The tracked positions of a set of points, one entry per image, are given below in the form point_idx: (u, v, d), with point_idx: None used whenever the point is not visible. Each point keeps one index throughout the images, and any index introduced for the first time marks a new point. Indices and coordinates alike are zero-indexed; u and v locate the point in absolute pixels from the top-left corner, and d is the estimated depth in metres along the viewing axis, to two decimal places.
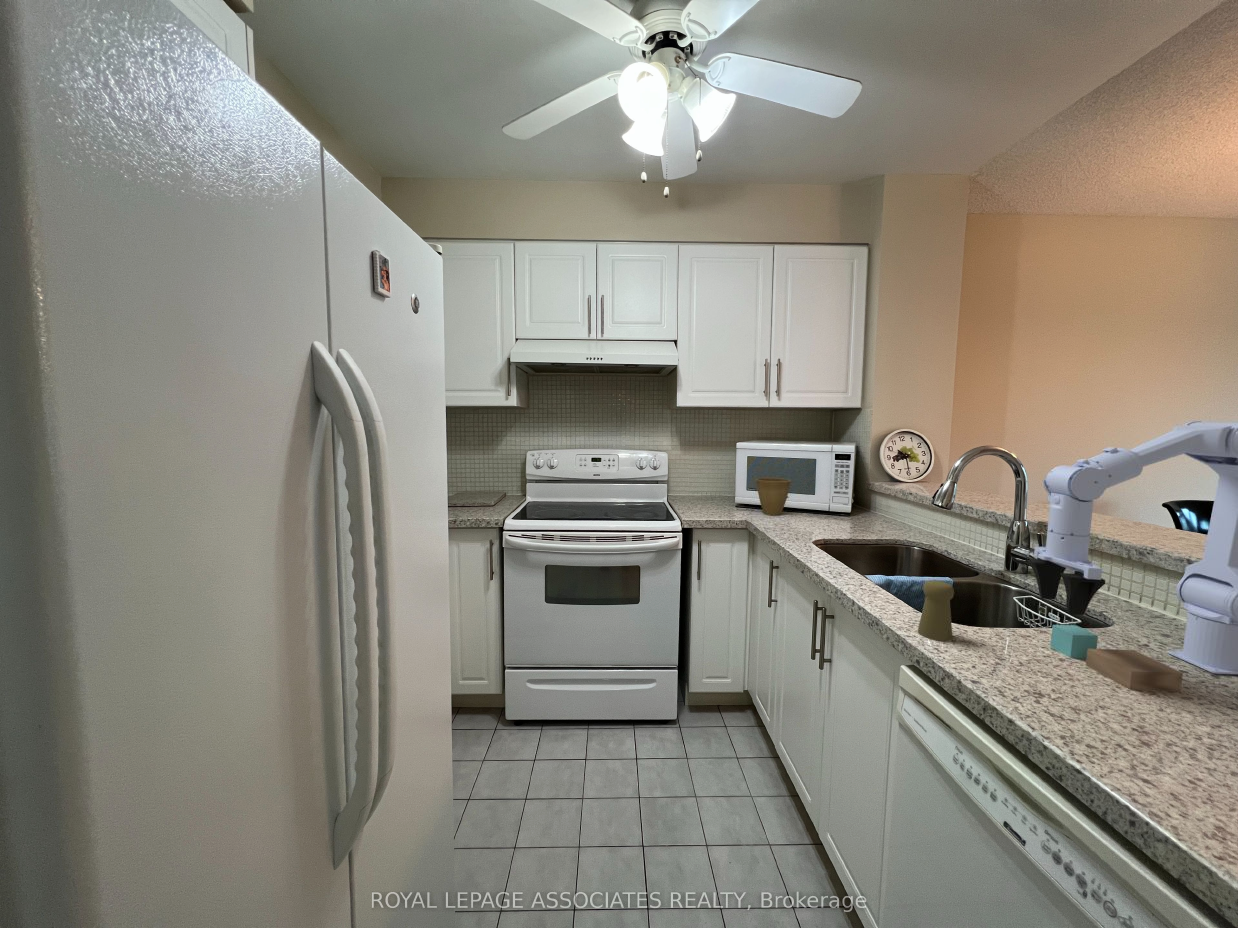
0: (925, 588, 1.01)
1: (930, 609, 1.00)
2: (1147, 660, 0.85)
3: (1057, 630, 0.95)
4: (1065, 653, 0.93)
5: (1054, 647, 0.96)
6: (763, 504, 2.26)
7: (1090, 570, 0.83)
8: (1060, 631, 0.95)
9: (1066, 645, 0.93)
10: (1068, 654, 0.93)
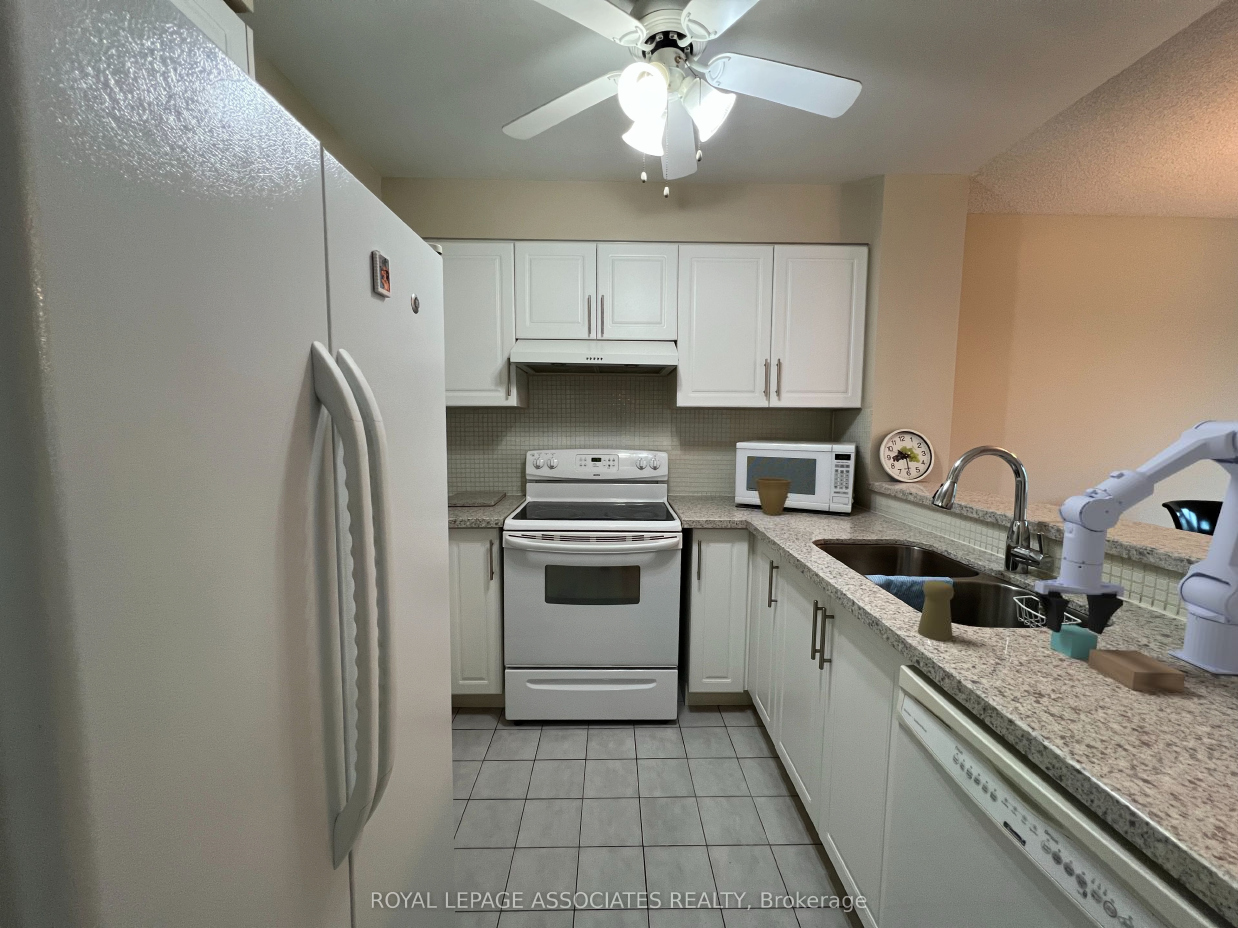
0: (925, 588, 1.01)
1: (930, 609, 1.00)
2: (1150, 660, 0.85)
3: None
4: (1065, 653, 0.93)
5: (1054, 647, 0.96)
6: (763, 504, 2.26)
7: (1036, 583, 0.94)
8: (1060, 631, 0.95)
9: (1066, 645, 0.93)
10: (1068, 654, 0.93)
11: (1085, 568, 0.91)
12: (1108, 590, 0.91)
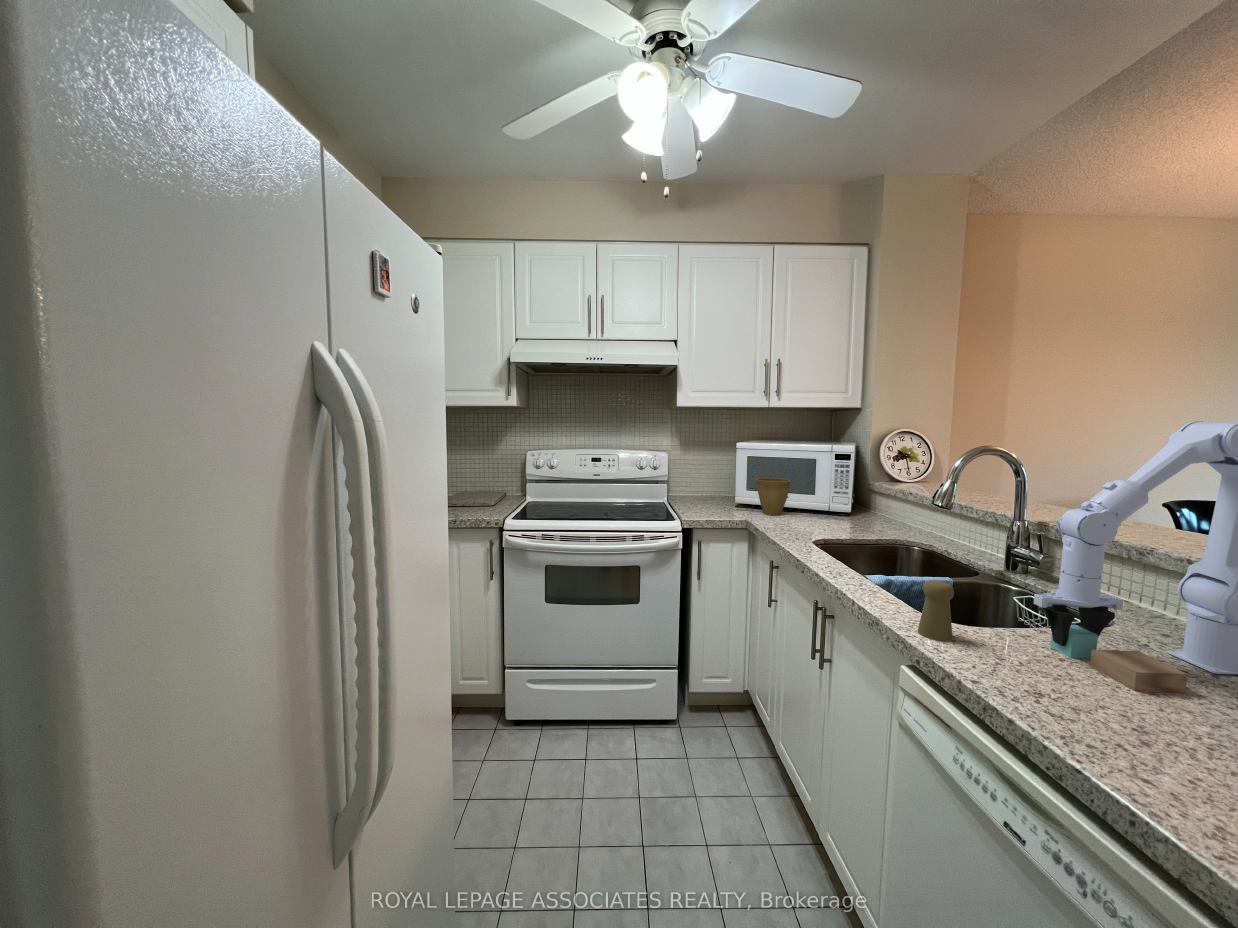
0: (925, 588, 1.01)
1: (930, 609, 1.00)
2: (1152, 660, 0.85)
3: None
4: (1065, 652, 0.93)
5: (1054, 646, 0.96)
6: (763, 504, 2.26)
7: (1035, 596, 0.94)
8: None
9: (1066, 644, 0.93)
10: (1068, 654, 0.93)
11: (1084, 582, 0.91)
12: (1107, 603, 0.91)
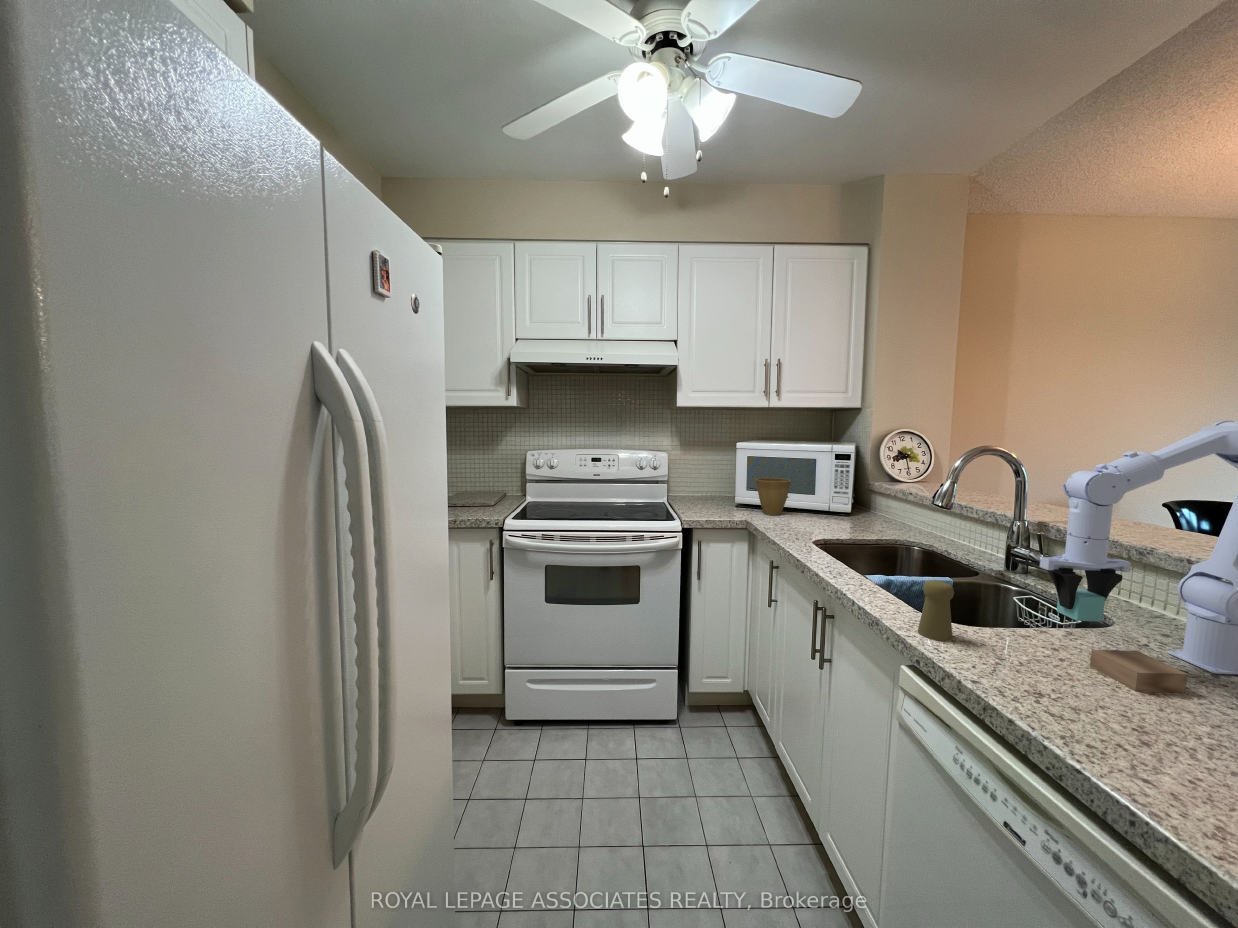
0: (925, 588, 1.01)
1: (930, 609, 1.00)
2: (1151, 660, 0.85)
3: None
4: (1072, 616, 0.92)
5: (1060, 611, 0.95)
6: (763, 504, 2.26)
7: (1041, 559, 0.93)
8: None
9: None
10: (1075, 617, 0.92)
11: (1091, 543, 0.90)
12: (1114, 565, 0.90)
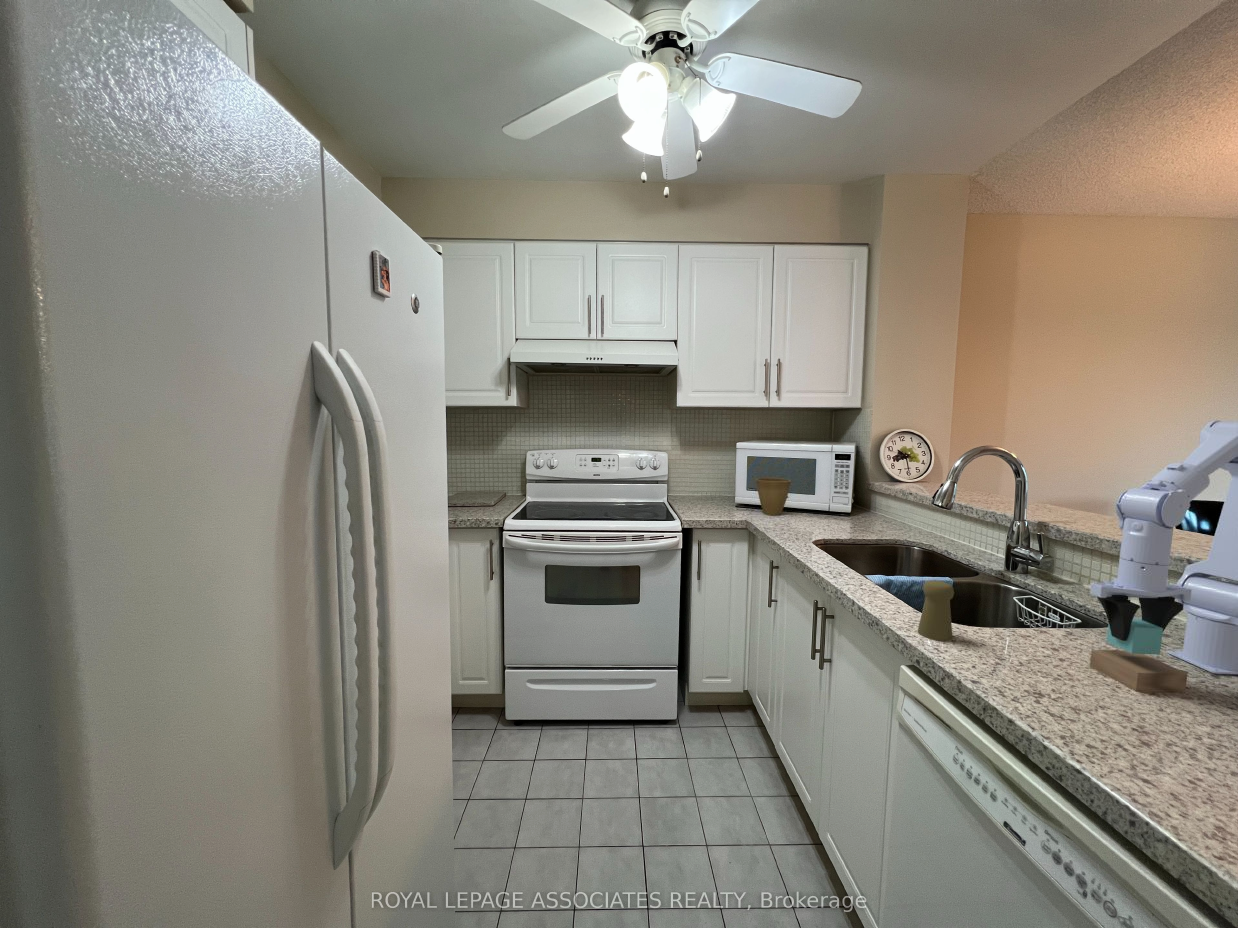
0: (925, 588, 1.01)
1: (930, 609, 1.00)
2: (1151, 660, 0.85)
3: None
4: (1125, 648, 0.84)
5: (1111, 641, 0.87)
6: (763, 504, 2.26)
7: (1092, 585, 0.85)
8: None
9: None
10: (1130, 649, 0.83)
11: (1149, 569, 0.81)
12: (1174, 593, 0.82)
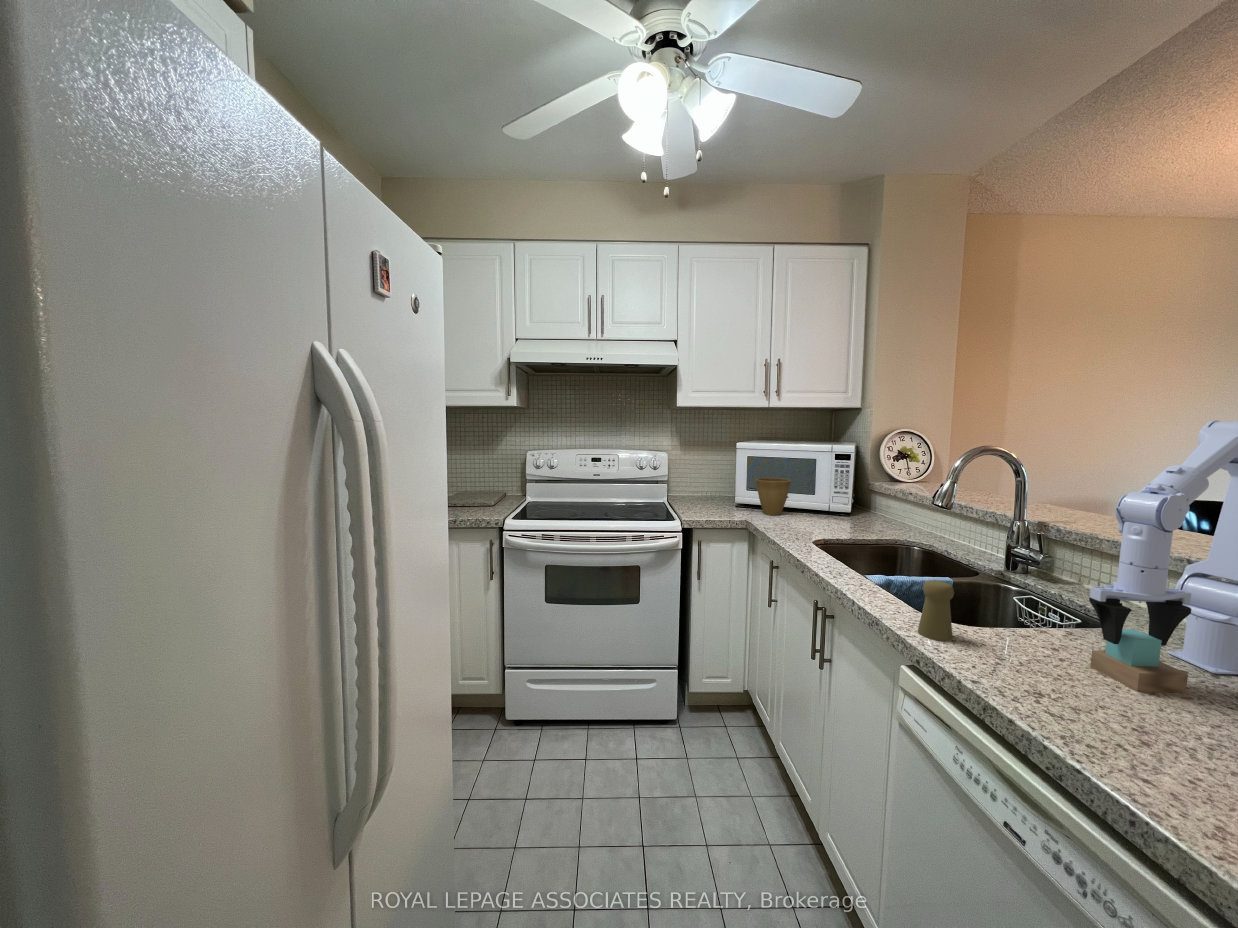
0: (925, 588, 1.01)
1: (930, 609, 1.00)
2: None
3: None
4: (1124, 660, 0.84)
5: (1110, 653, 0.87)
6: (763, 504, 2.26)
7: (1091, 589, 0.85)
8: None
9: (1125, 651, 0.84)
10: (1129, 661, 0.83)
11: (1148, 572, 0.81)
12: (1174, 597, 0.82)
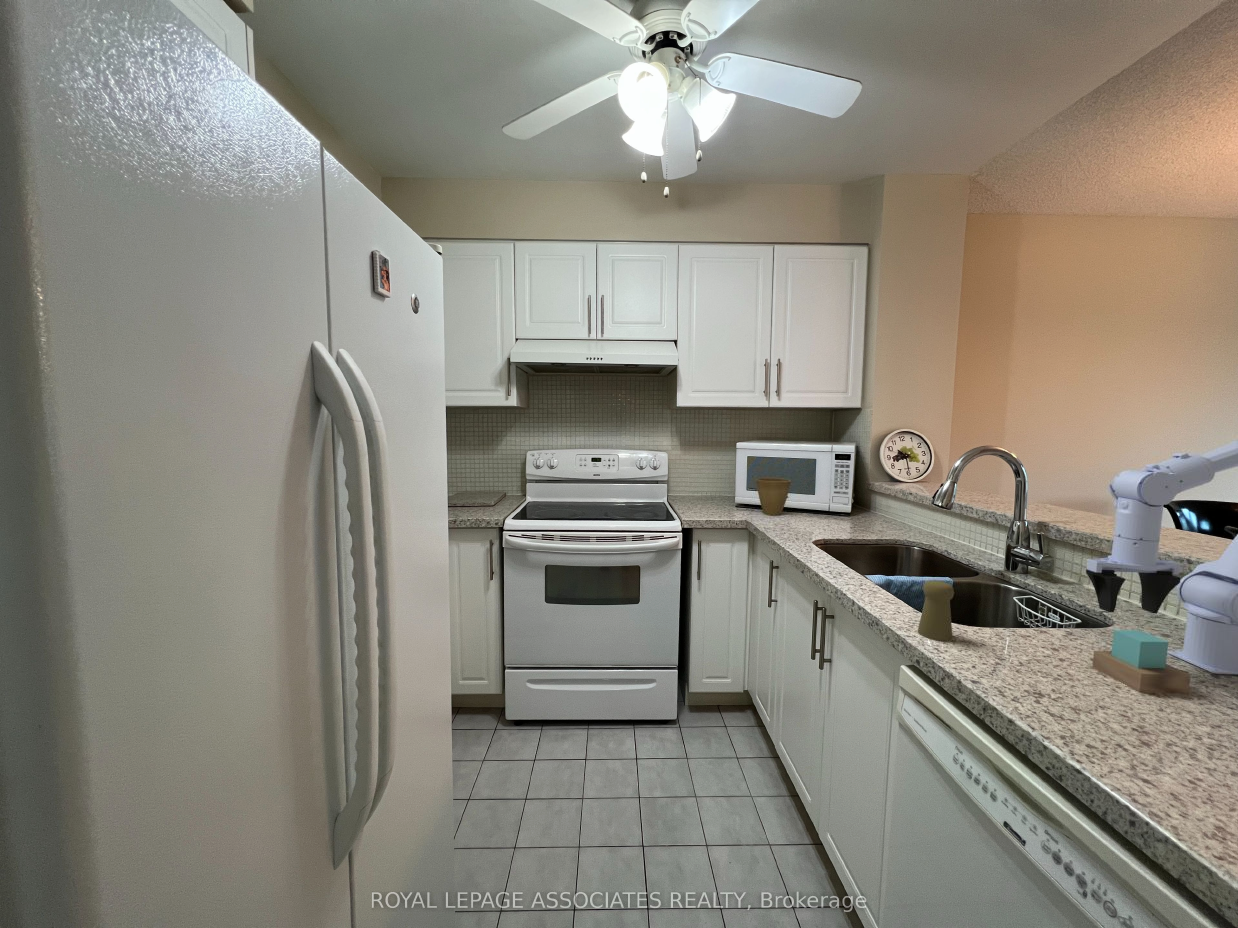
0: (925, 588, 1.01)
1: (930, 609, 1.00)
2: None
3: (1120, 636, 0.85)
4: (1131, 662, 0.83)
5: (1116, 655, 0.86)
6: (763, 504, 2.26)
7: (1088, 561, 0.91)
8: (1124, 637, 0.85)
9: (1132, 653, 0.83)
10: (1136, 663, 0.83)
11: (1141, 544, 0.87)
12: (1164, 567, 0.88)
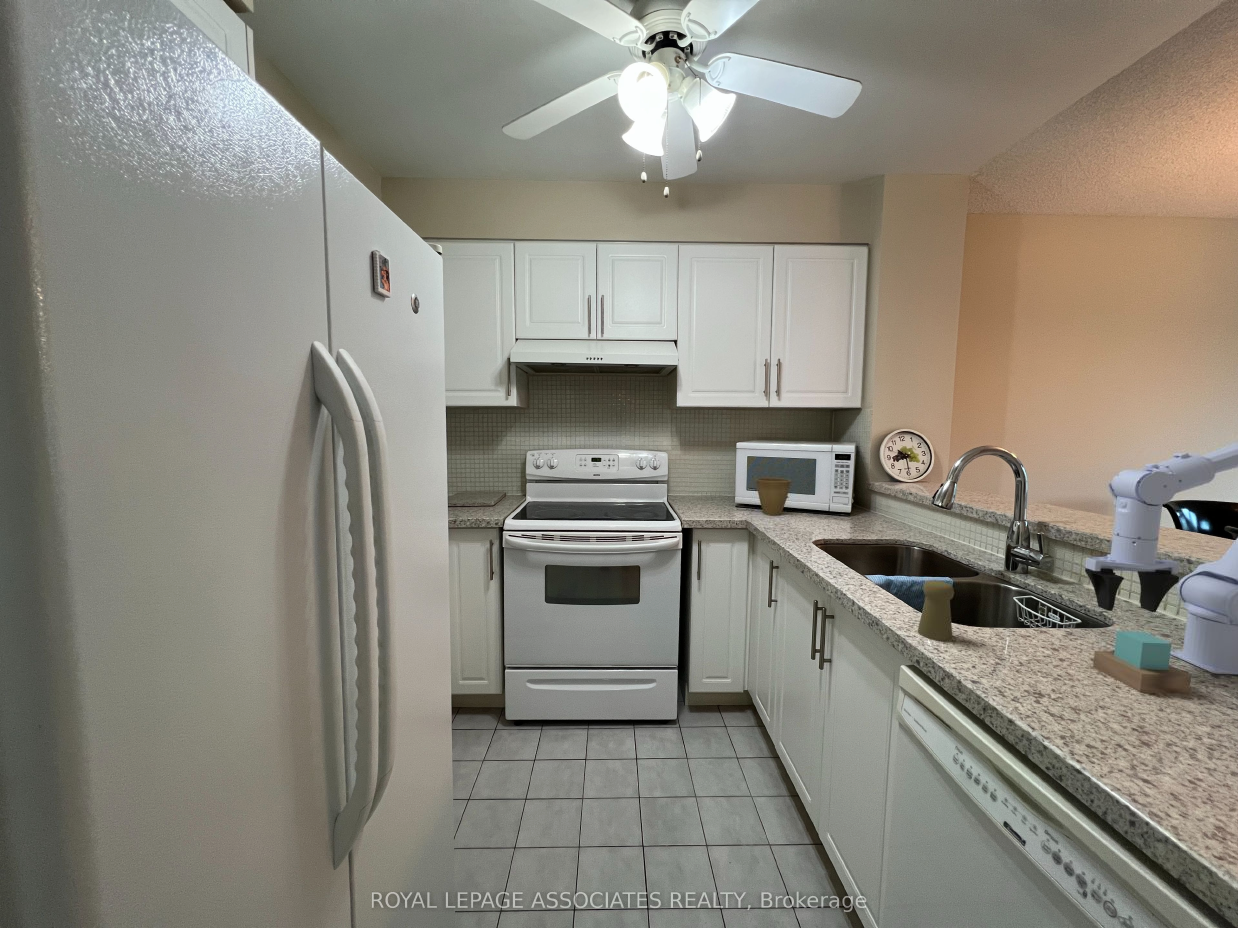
0: (925, 588, 1.01)
1: (930, 609, 1.00)
2: None
3: (1123, 637, 0.85)
4: (1133, 663, 0.83)
5: (1119, 656, 0.86)
6: (763, 504, 2.26)
7: (1087, 560, 0.92)
8: (1126, 638, 0.84)
9: (1134, 654, 0.83)
10: (1137, 664, 0.83)
11: (1139, 543, 0.88)
12: (1163, 566, 0.89)
